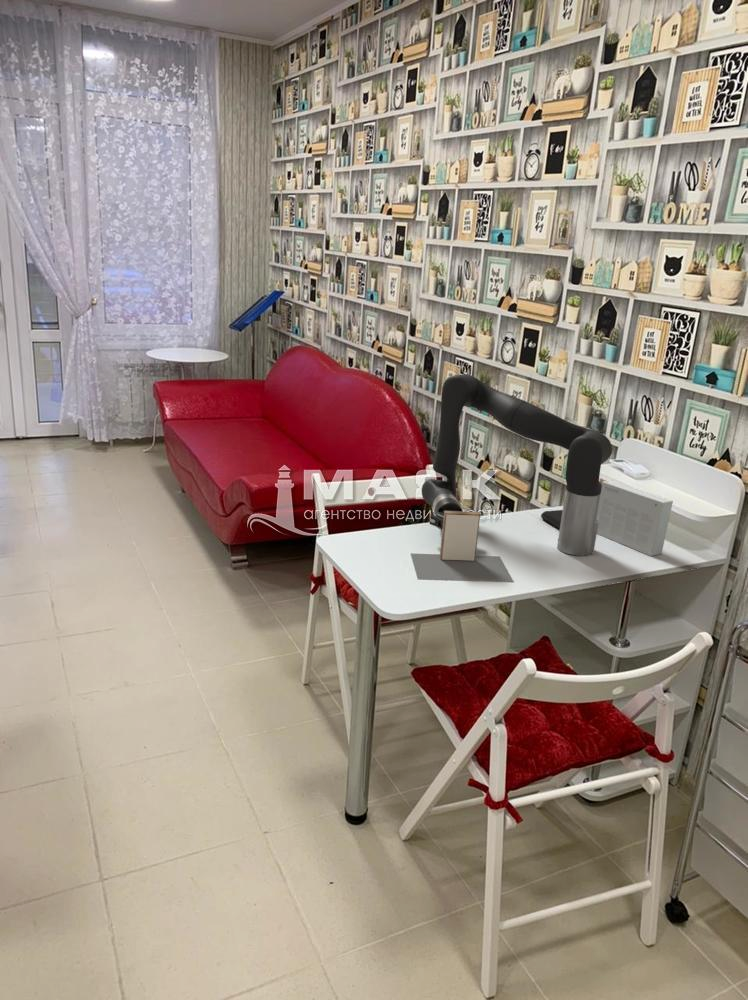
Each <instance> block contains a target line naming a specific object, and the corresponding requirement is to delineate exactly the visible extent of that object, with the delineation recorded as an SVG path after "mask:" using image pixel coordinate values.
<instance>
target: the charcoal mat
mask: <svg viewBox="0 0 748 1000" xmlns="http://www.w3.org/2000/svg"><path fill="white" fill-rule="evenodd" d="M410 556H411V560H412V565H413V567H414V571H415V574H416V578H417V580H425V581H452V582H453V581H457V582H459V581H460V582H461V581H462V582H484V583H485V582H490V583H492V582H493V583H515V581H514V580H513V578H512V575H511V574H510V572H509V570H508V569H507V567H506V564H505V563H504V561H503V560H502V558H501V556H500V555H499V556H496V555H475V561H452V560H440V553H439V554H437V553H414V552H413V553H410Z"/></svg>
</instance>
